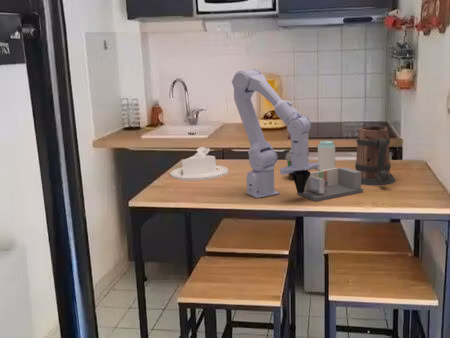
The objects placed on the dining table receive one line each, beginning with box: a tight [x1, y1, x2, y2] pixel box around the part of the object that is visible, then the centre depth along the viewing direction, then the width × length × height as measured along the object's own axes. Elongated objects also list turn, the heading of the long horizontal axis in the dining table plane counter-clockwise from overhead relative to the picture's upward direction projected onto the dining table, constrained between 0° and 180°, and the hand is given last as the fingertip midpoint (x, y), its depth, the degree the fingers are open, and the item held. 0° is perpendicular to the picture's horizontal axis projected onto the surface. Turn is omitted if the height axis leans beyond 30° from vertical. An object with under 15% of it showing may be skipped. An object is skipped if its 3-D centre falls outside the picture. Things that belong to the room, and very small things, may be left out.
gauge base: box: [296, 166, 364, 202], centre depth 178 cm, size 20×11×7 cm, turn 116°
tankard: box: [354, 125, 397, 187], centre depth 189 cm, size 24×17×20 cm
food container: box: [285, 151, 310, 181], centre depth 203 cm, size 12×6×10 cm, turn 141°
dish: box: [170, 146, 229, 182], centre depth 217 cm, size 25×25×11 cm
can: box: [317, 140, 336, 171], centre depth 211 cm, size 7×7×12 cm
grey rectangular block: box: [307, 175, 328, 194], centre depth 176 cm, size 6×8×5 cm
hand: (300, 192), depth 173 cm, fingers closed
